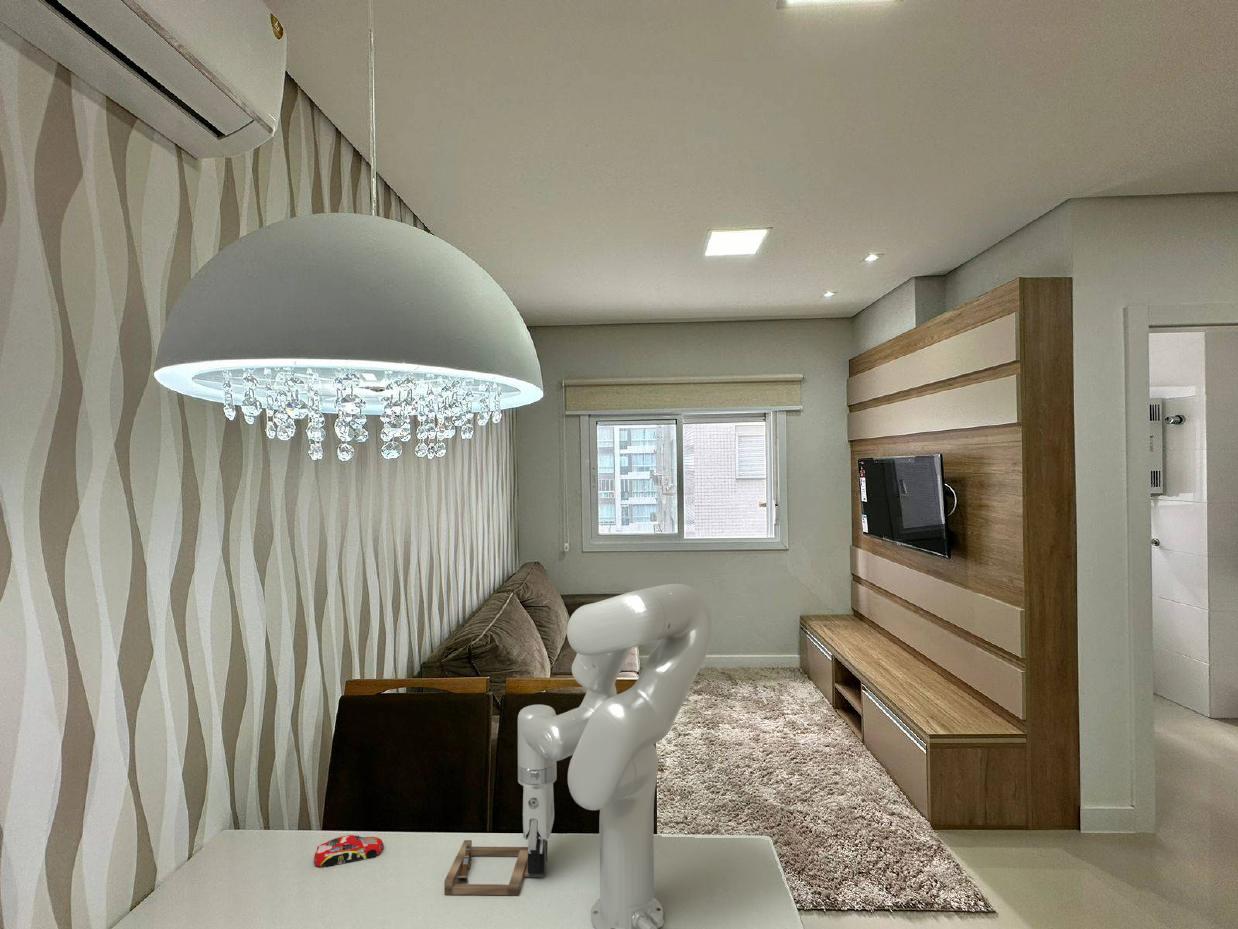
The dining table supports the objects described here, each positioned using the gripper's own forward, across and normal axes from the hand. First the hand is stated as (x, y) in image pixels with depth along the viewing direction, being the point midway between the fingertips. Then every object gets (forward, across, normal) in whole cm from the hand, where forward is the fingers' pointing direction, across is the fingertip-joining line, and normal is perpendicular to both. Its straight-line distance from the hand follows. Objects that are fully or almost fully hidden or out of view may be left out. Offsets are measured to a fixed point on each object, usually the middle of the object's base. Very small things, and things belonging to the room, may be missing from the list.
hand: (537, 866), depth 132 cm
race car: (+2, +6, +40) cm, 40 cm away
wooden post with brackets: (+2, 0, +14) cm, 14 cm away
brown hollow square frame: (+1, 0, +7) cm, 7 cm away
